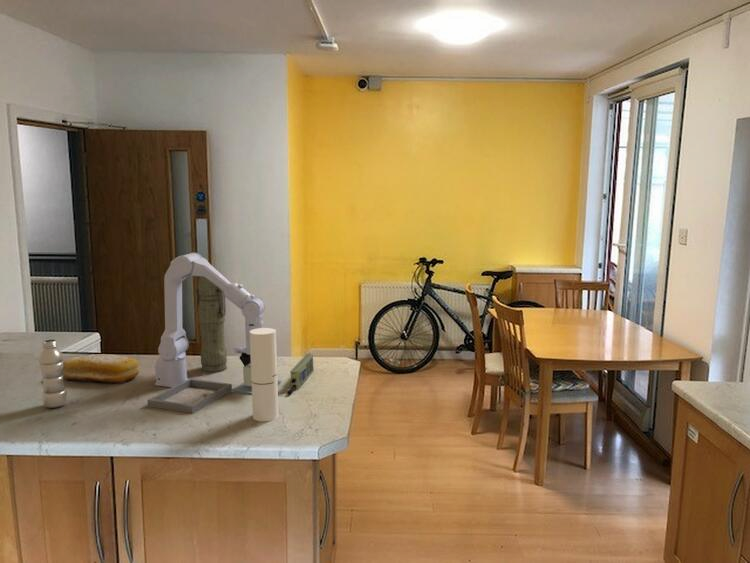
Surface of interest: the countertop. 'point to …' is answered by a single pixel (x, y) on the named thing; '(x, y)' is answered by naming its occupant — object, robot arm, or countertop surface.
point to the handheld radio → (301, 372)
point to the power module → (247, 375)
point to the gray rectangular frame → (158, 403)
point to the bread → (101, 368)
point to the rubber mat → (245, 388)
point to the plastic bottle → (52, 375)
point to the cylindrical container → (264, 374)
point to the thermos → (211, 326)
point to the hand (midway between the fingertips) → (256, 376)
